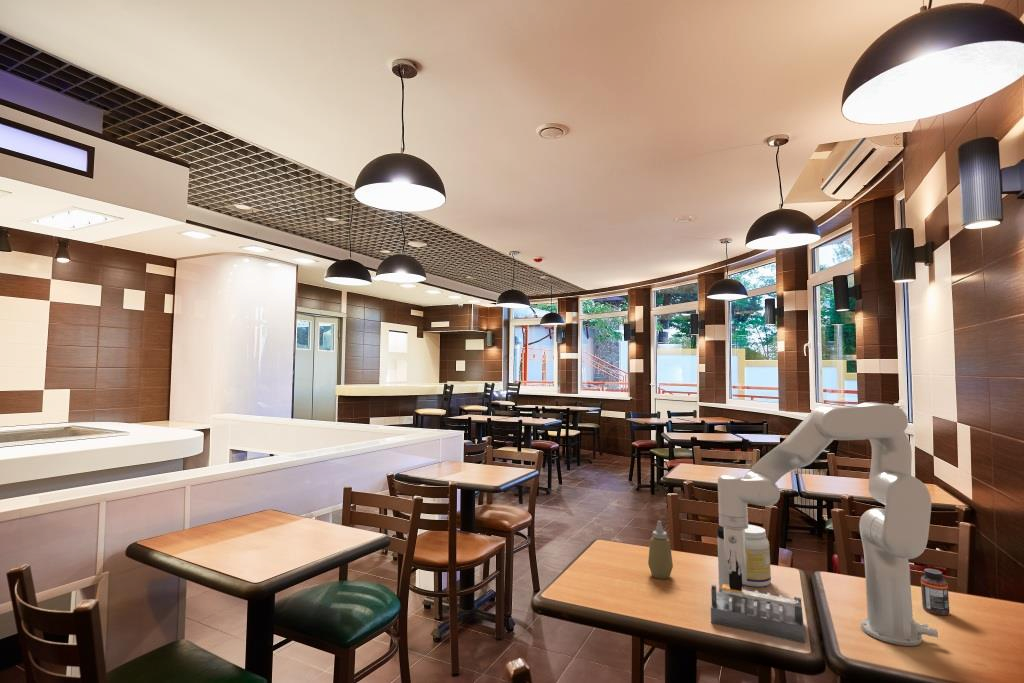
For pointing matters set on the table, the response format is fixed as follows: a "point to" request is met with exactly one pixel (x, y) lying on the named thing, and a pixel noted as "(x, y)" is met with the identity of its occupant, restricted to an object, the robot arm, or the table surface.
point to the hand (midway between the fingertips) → (735, 587)
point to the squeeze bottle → (660, 554)
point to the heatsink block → (757, 615)
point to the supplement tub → (756, 558)
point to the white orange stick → (760, 596)
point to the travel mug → (722, 560)
